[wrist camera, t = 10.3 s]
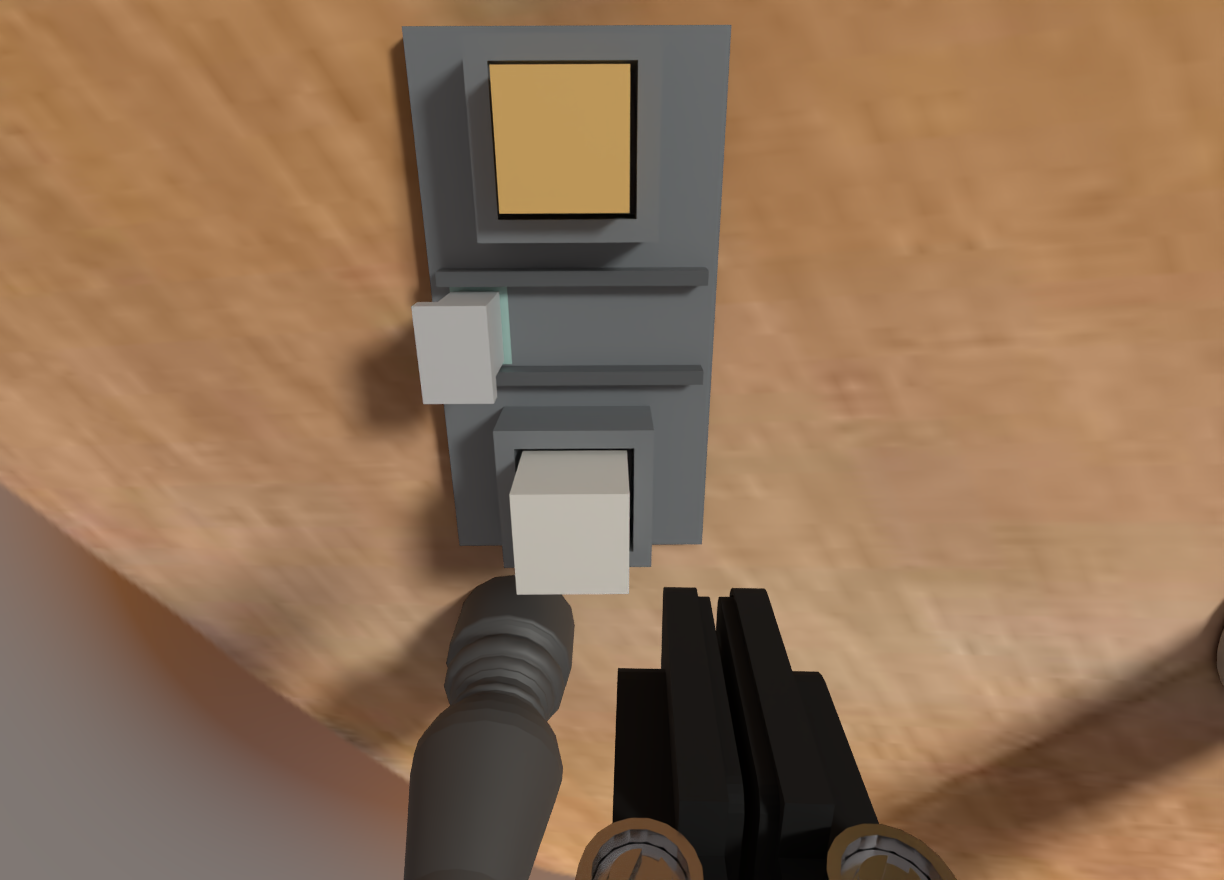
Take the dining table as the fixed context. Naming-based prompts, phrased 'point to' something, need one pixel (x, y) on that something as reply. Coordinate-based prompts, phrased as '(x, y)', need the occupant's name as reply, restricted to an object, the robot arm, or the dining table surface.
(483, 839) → the candle holder
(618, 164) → the tan yellow cube
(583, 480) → the white button
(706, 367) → the switch panel
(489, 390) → the slider knob
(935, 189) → the dining table surface
